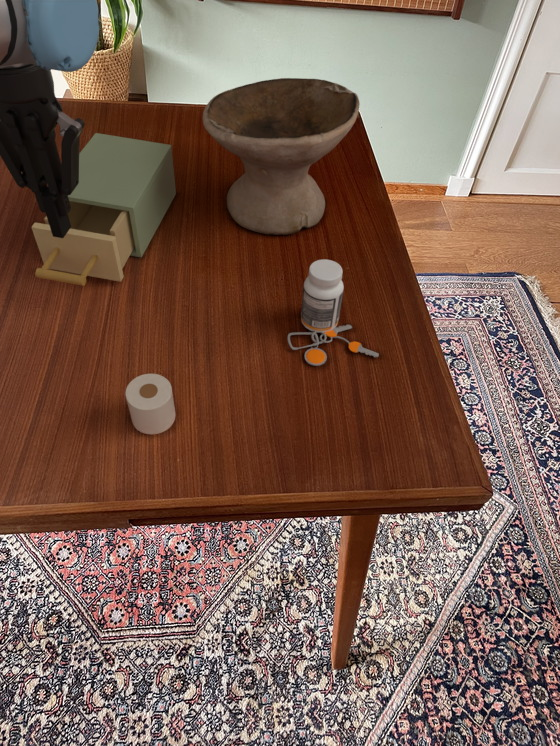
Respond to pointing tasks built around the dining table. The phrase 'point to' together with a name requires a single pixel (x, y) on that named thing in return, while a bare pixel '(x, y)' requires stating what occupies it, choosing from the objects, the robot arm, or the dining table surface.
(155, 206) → the cabinet
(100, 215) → the drawer
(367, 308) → the dining table surface
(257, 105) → the bowl
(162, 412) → the paper roll
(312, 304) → the pill bottle
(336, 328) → the key chain
